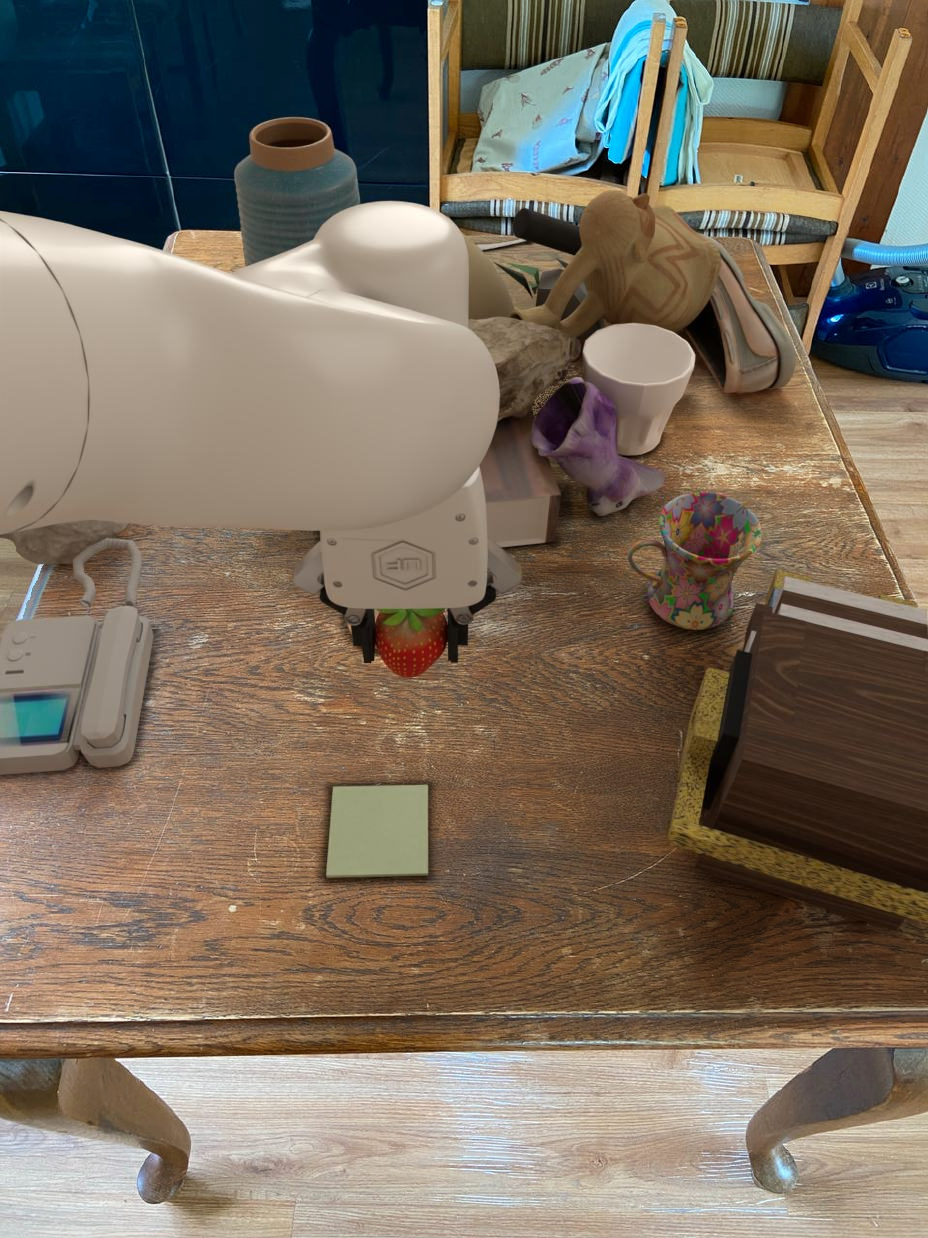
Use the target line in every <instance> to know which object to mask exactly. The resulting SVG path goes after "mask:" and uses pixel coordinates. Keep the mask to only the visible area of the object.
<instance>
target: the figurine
mask: <svg viewBox="0 0 928 1238" xmlns="http://www.w3.org/2000/svg"><path fill="white" fill-rule="evenodd" d="M616 416H617V413H616V408H615V405H614V403H613V402H612V400H611V399H610V398H609V397H608V396H606V395H605V394H603V393H602V392H601V391H599V390H598V389H597V388H596V387H595V386H594V385H593V384H592V383H590V382H584V378H582V377H581V376H575V377H572V378H570V379H568V380H567V381H565V382H564V383H562V384H561V385H560V386H559V387H558V388H557V389H556V390H555V391H554V392H553V393H552V394H551V395H550V396H549V398H547V400H546V401H545V403H544V404H543V405H542V406H541V407H540V408H539V409H538V411H537V412H536V414H535V415H534V417H535V418H534V420H533V428H532V442H533V443H532V444H533V445H534V447H535V448H537V449H538V451H539V454H540V455H541V456H542V457H548V458H549V459H551V458H552V459H555V460H556V463H557V465H558V466H559V467H560V468H561V470H562V471H563V473H565V474H566V476H568V477H569V478H570V479H571V480H574V481H575V482H577V483H579V484H581V485H583V486H585V487H586V502H587V506H588V507H589V509H590V510H592V512H594V513H595V514H596V515H597V516H599V517H604V516H607V515H609V514H612V513H615V512H619V511H622V510H623V509H625V508H627V507H628V506H629V504H631V502H632V501H633V500H634V499H637V498H639V497H644V496H645V497H646V496H649V495H652V494H653V493H655V492H657V491H659V490H660V489H661V488H662V487H663V485H664V483H665V481H666V473H665V471H662V470H660V469H658V468H655V467H652V466H649V465H647V464H644V463H641V462H638V461H636V460H633V459H630V458H627V457H625V456H623V455H620V454H617V430H616Z"/></svg>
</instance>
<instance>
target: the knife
mask: <svg viewBox="0 0 928 1238" xmlns="http://www.w3.org/2000/svg"><path fill="white" fill-rule="evenodd" d="M524 242H527V243H528V244H530V241H527V240H523V239H520V238H518V239H514V240H509V241H503V242H495V243H484V244H483V243H481V244H480V243H479V244H476V245H477V246H478V247H479V248H480V249H481V250H482V251H485V250H490V249H495V248H496V249H497V248H500V247H506V246H510V245H514V244H519V243H524Z"/></svg>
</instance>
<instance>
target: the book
mask: <svg viewBox="0 0 928 1238" xmlns="http://www.w3.org/2000/svg"><path fill="white" fill-rule="evenodd" d="M534 418H535V414H534V411H533V409H532V408H531V410H530V412H529V413H528V415H526V416H525V417H523V418H520V417H514V416H512V415H511V416H510V417H507V418H503V419H501V420H499V421H498V422H497V425H496V429H495V432H494V435H493V438H492V441H491V443H490V446H489V448H488V450H487V453H486V455H485V456H484V458H483V460H482V462H481V463H480V465H479V466H480V471H481V476H482V481H483V487H484V493H485V501H486V513H487V536H489V537H490V538H491V539H492V540H493V541H494V542H495V543H496V544H498V545H499V546H500V547H501V548H507V547H516V546H517V547H518V546H526V545H535V544H545V543H555V542H556V541H557V534H558V526H559V525H558V524H559V517H560V516H559V515H560V505H561V497H562V494H561V490H560V487H559V485H558V481H557V479H556V476H555V473H554V470H553V468H552V464H551V462H550V457H542V456H541V455H540V454H539V451H538V449H537V448H535V447H534V445H533V444H532V443H533V442H532V428H533V420H534Z"/></svg>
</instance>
